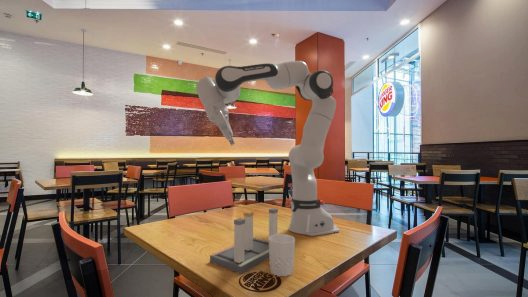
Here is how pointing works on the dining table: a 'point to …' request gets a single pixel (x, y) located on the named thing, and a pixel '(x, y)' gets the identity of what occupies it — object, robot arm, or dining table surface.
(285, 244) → the white cup
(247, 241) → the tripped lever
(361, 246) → the dining table surface
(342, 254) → the dining table surface
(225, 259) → the peg rod stand
